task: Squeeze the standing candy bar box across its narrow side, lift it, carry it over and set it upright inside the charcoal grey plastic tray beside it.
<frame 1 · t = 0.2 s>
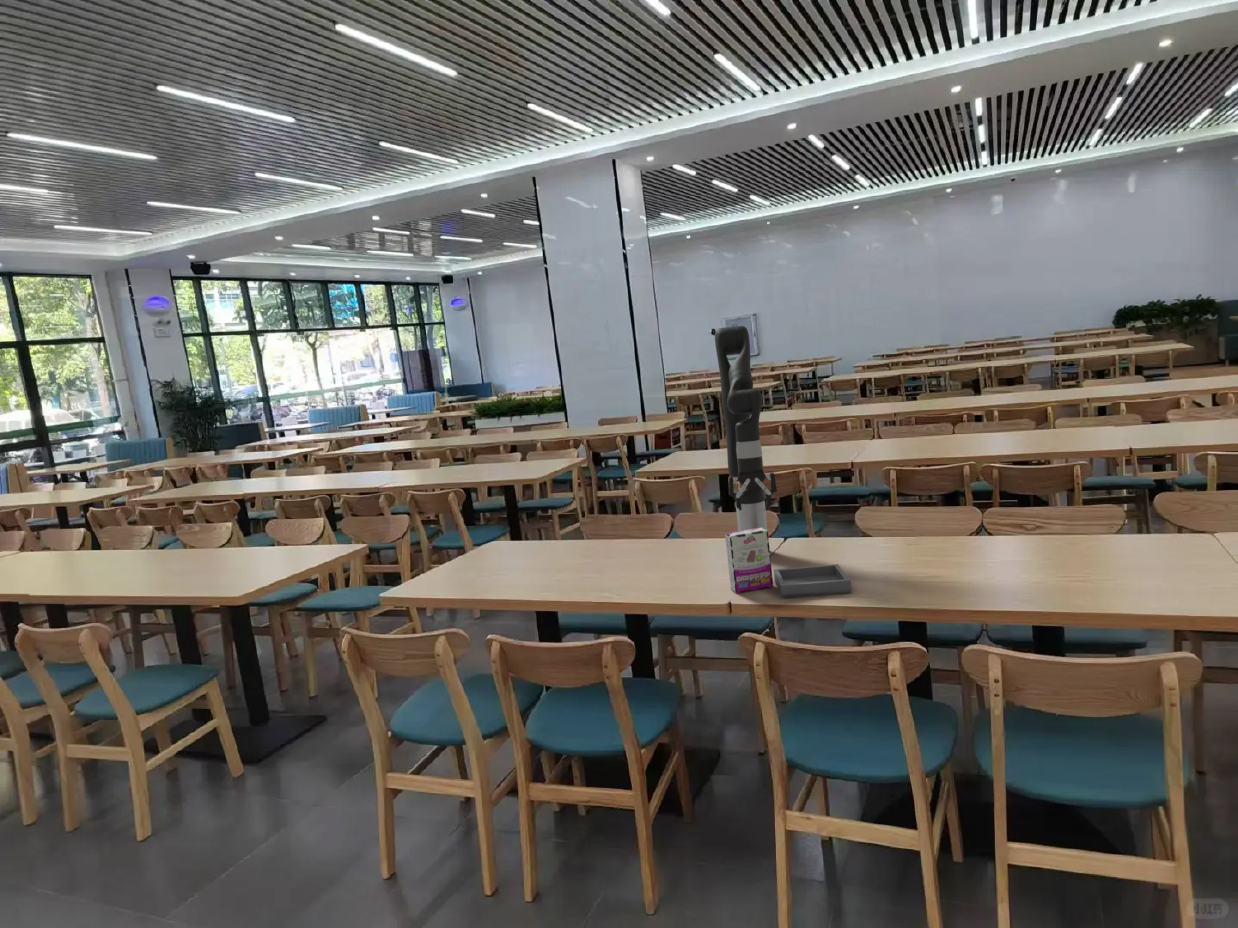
hand: (754, 508, 243), 18 cm above the table, tool pointing down, fingers open, 8 cm apart
candy bar box: (751, 589, 222), on the table
tray: (811, 587, 218), on the table
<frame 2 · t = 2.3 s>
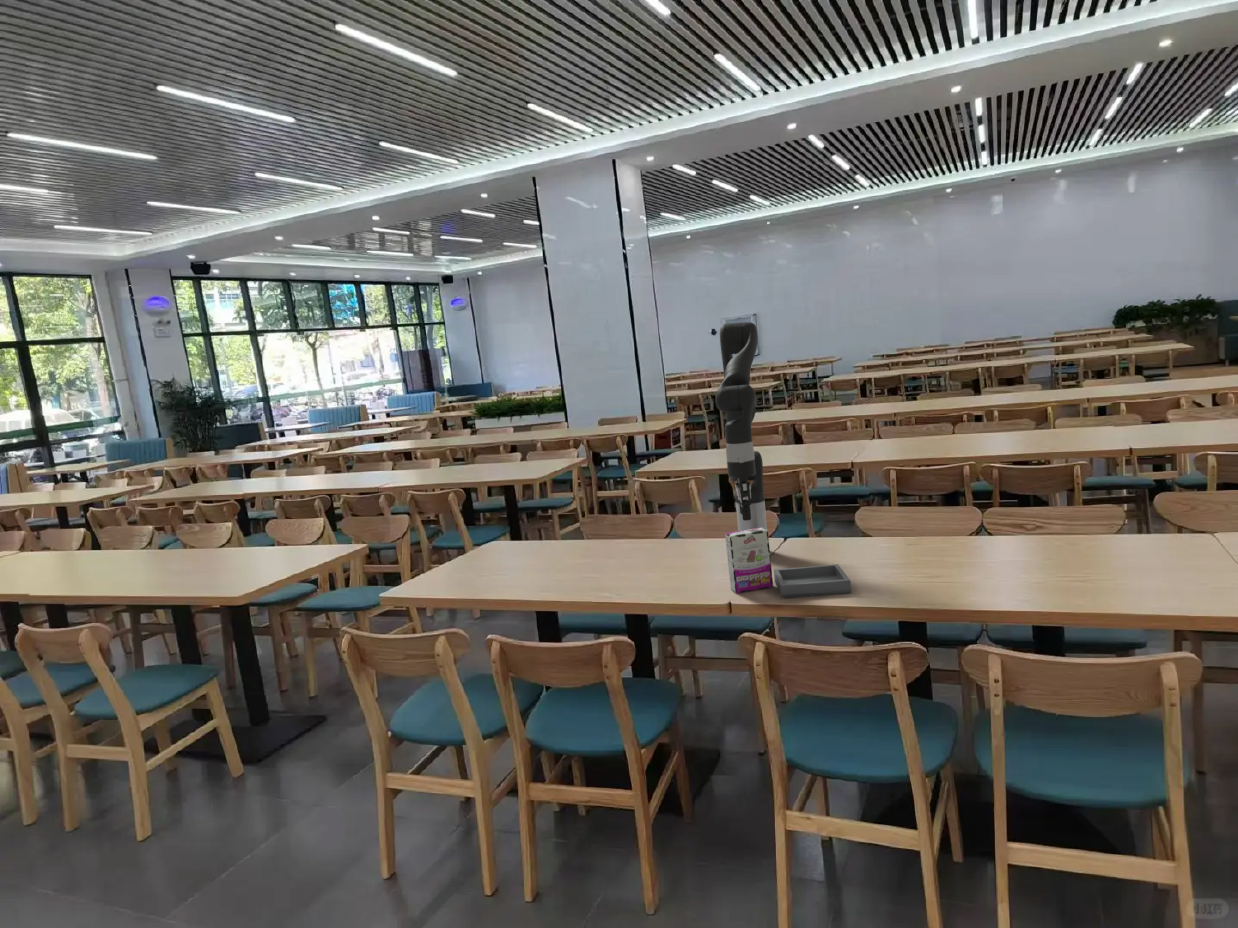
hand: (745, 517, 219), 20 cm above the table, tool pointing down, fingers open, 8 cm apart
nothing on the table moved.
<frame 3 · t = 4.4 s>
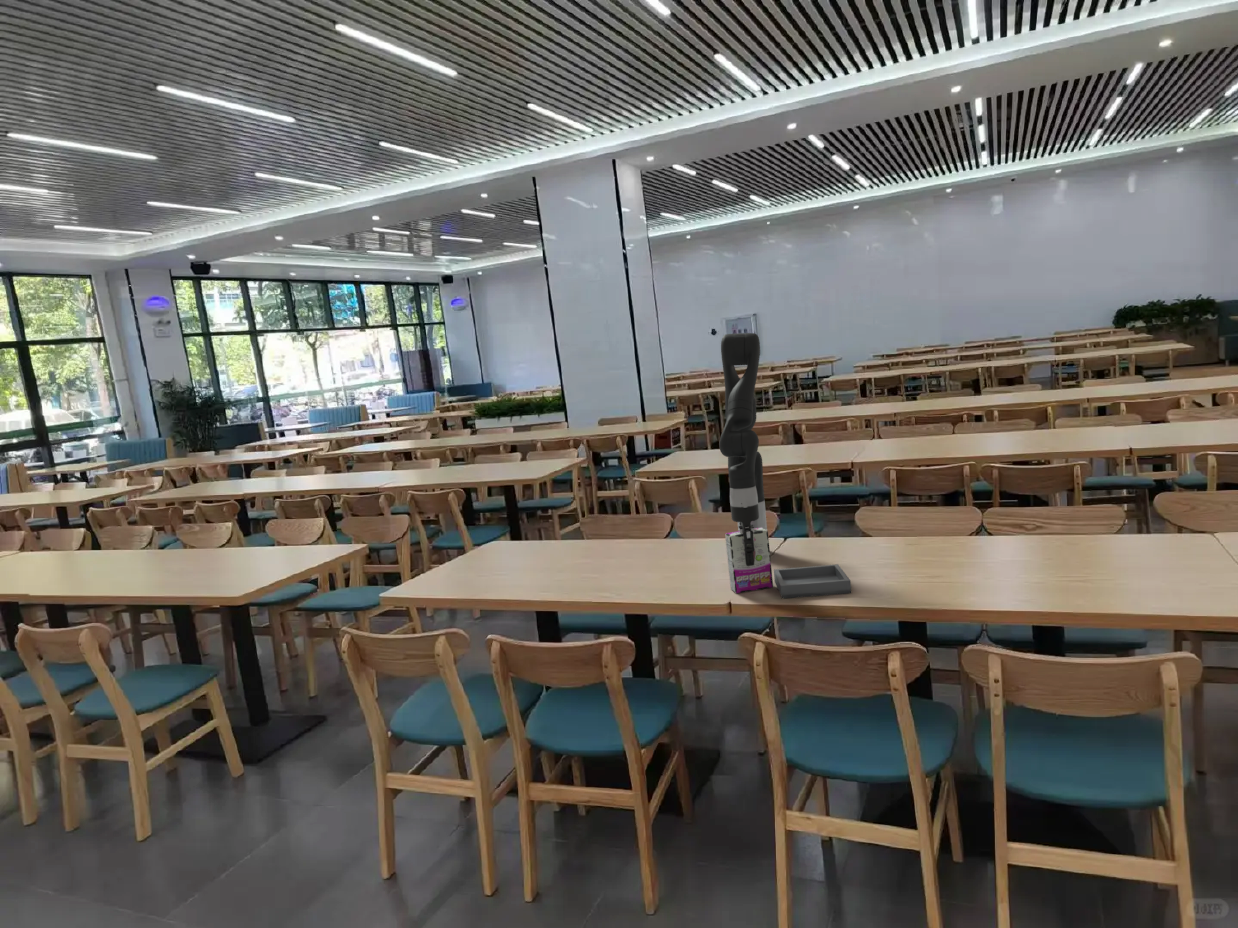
hand: (749, 562, 221), 8 cm above the table, tool pointing down, fingers closed on candy bar box, 5 cm apart
candy bar box: (751, 589, 222), on the table, touching gripper
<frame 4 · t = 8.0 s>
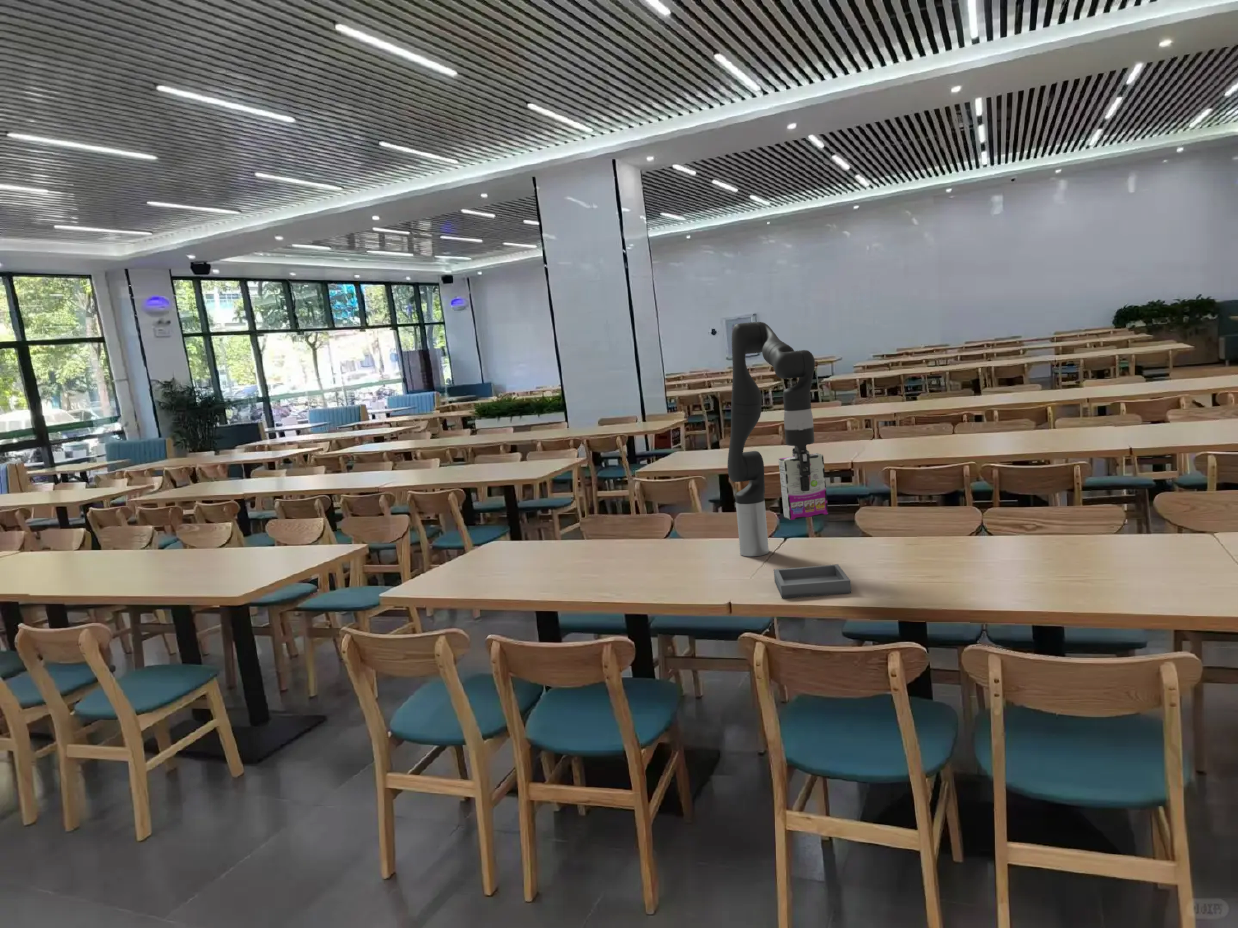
hand: (803, 488, 214), 27 cm above the table, tool pointing down, fingers closed on candy bar box, 5 cm apart
candy bar box: (805, 516, 215), point 20 cm above the table, touching gripper
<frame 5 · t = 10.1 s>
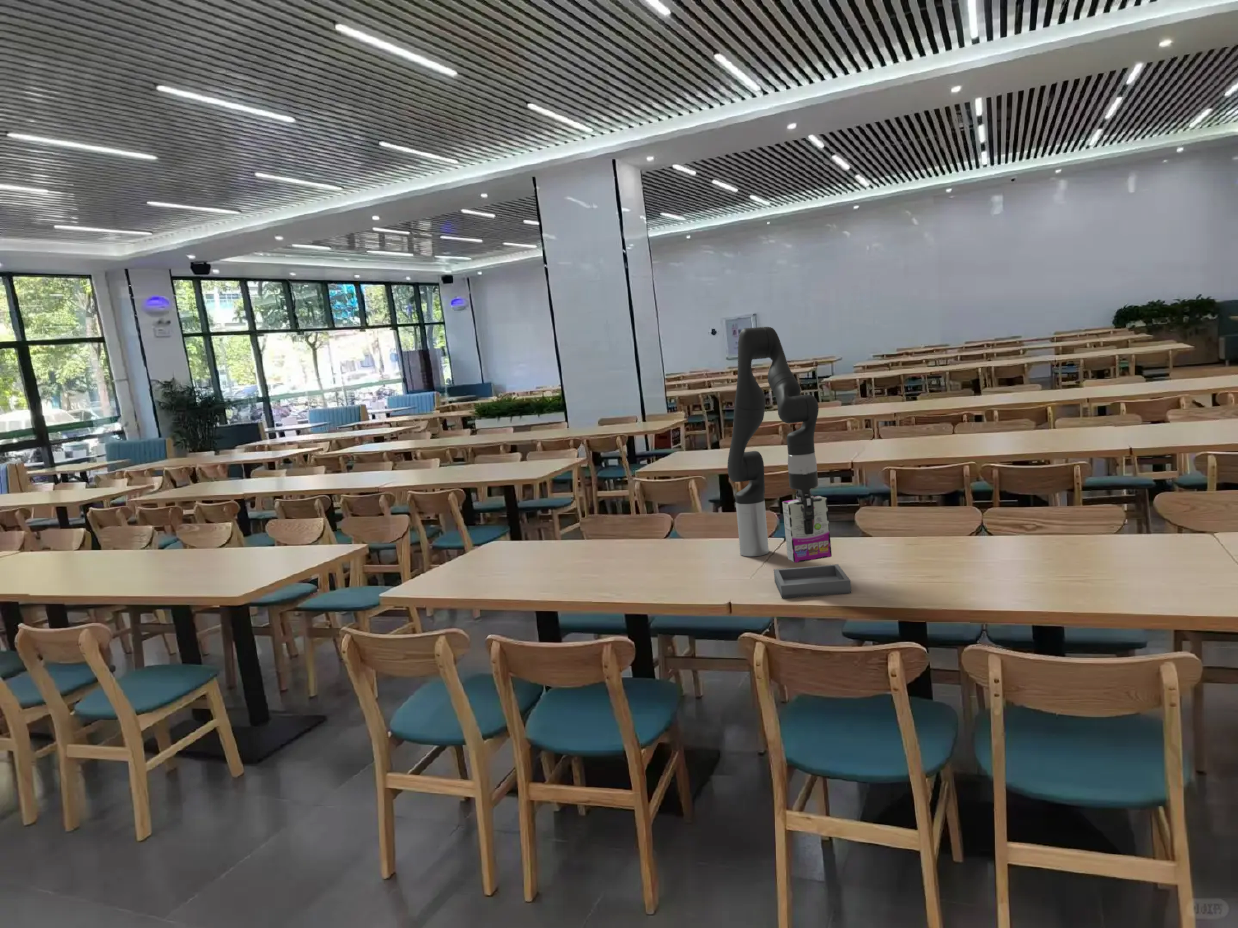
hand: (807, 531, 216), 16 cm above the table, tool pointing down, fingers closed on candy bar box, 5 cm apart
candy bar box: (809, 559, 217), point 8 cm above the table, touching gripper
when the fingers open (10 cm above the table, at t = 11.8 s): candy bar box drops 1 cm, resting on tray.
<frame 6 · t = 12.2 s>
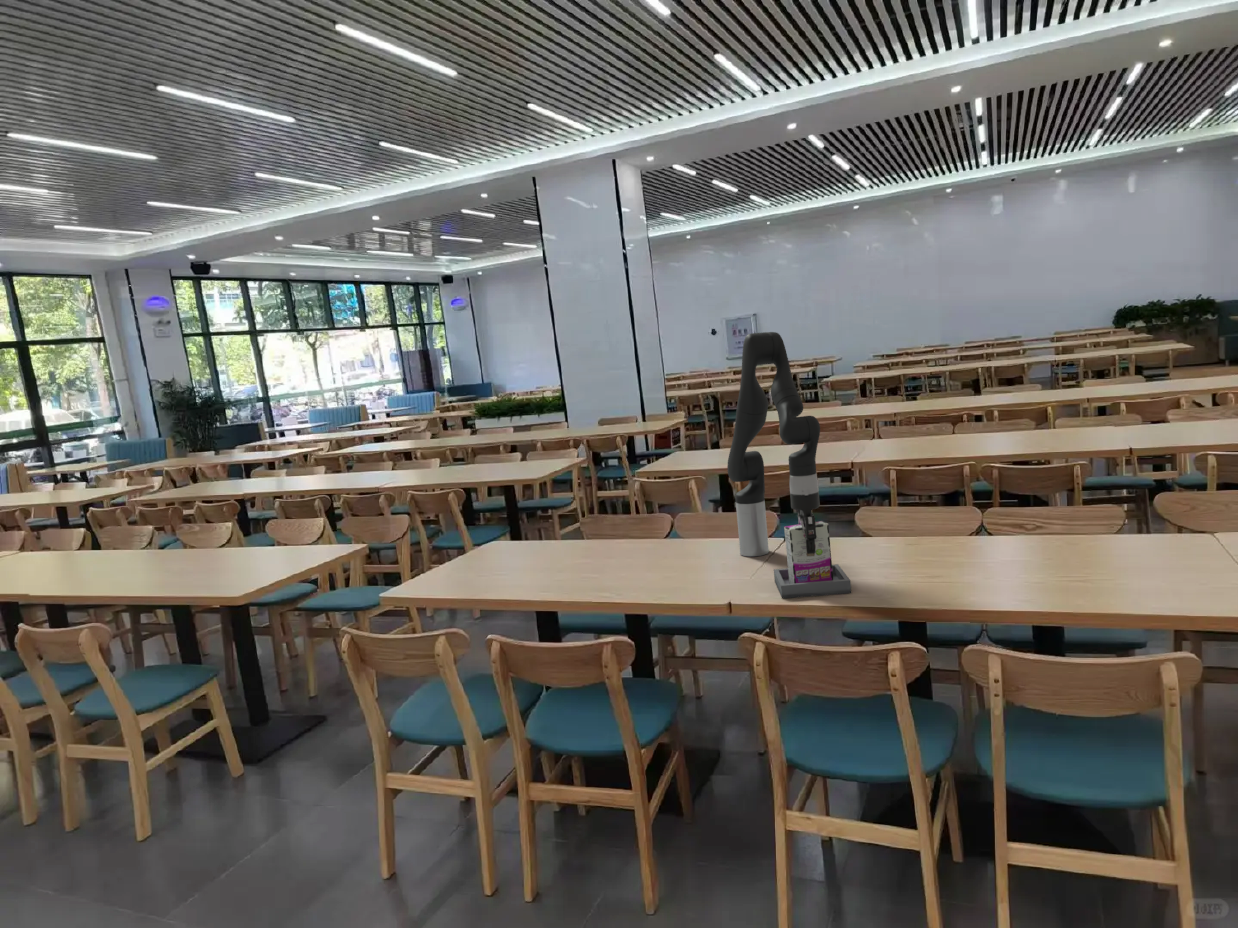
hand: (808, 549, 216), 11 cm above the table, tool pointing down, fingers open, 8 cm apart
candy bar box: (810, 583, 218), point 1 cm above the table, touching tray
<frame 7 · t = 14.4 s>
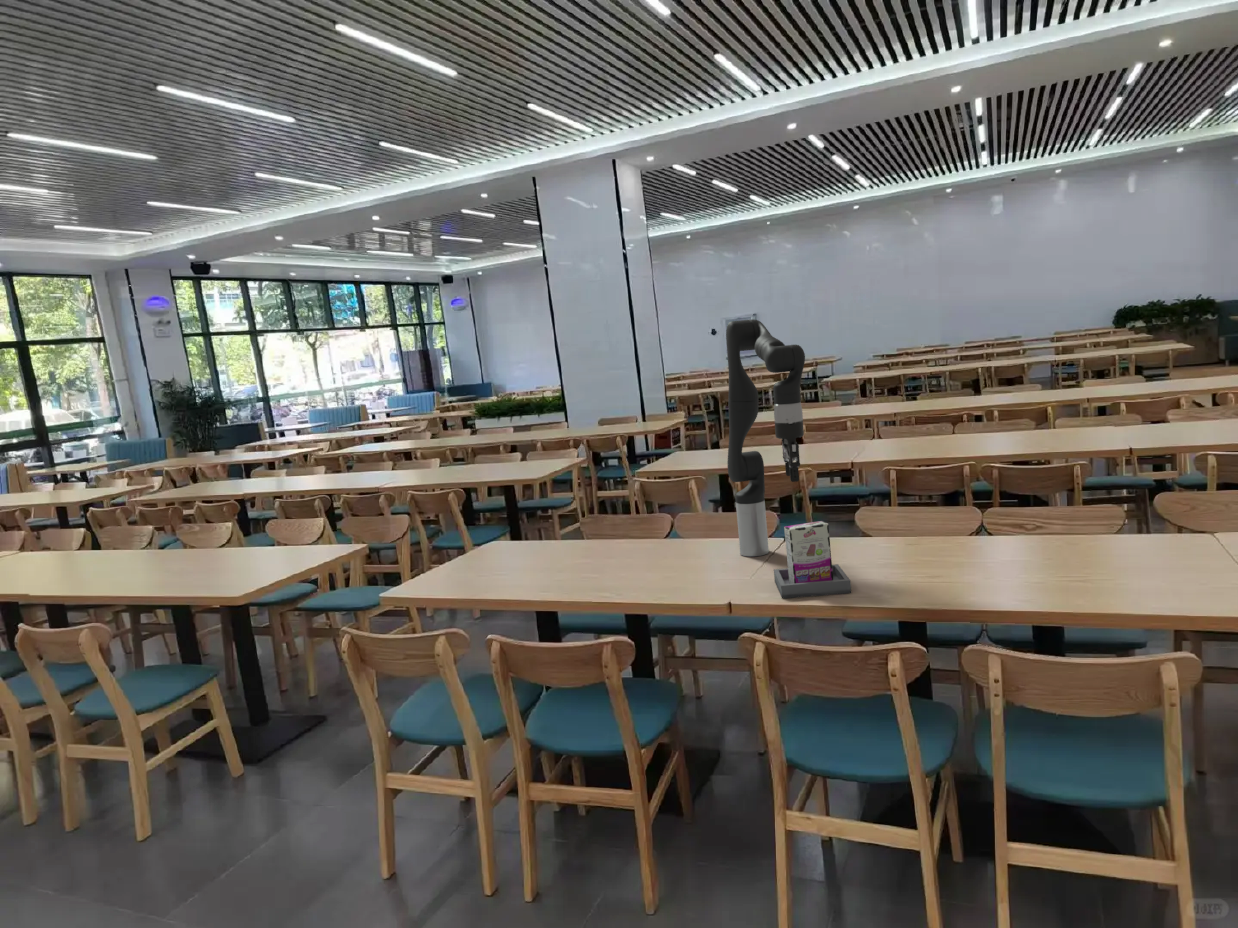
hand: (792, 478, 218), 30 cm above the table, tool pointing down, fingers open, 8 cm apart
nothing on the table moved.
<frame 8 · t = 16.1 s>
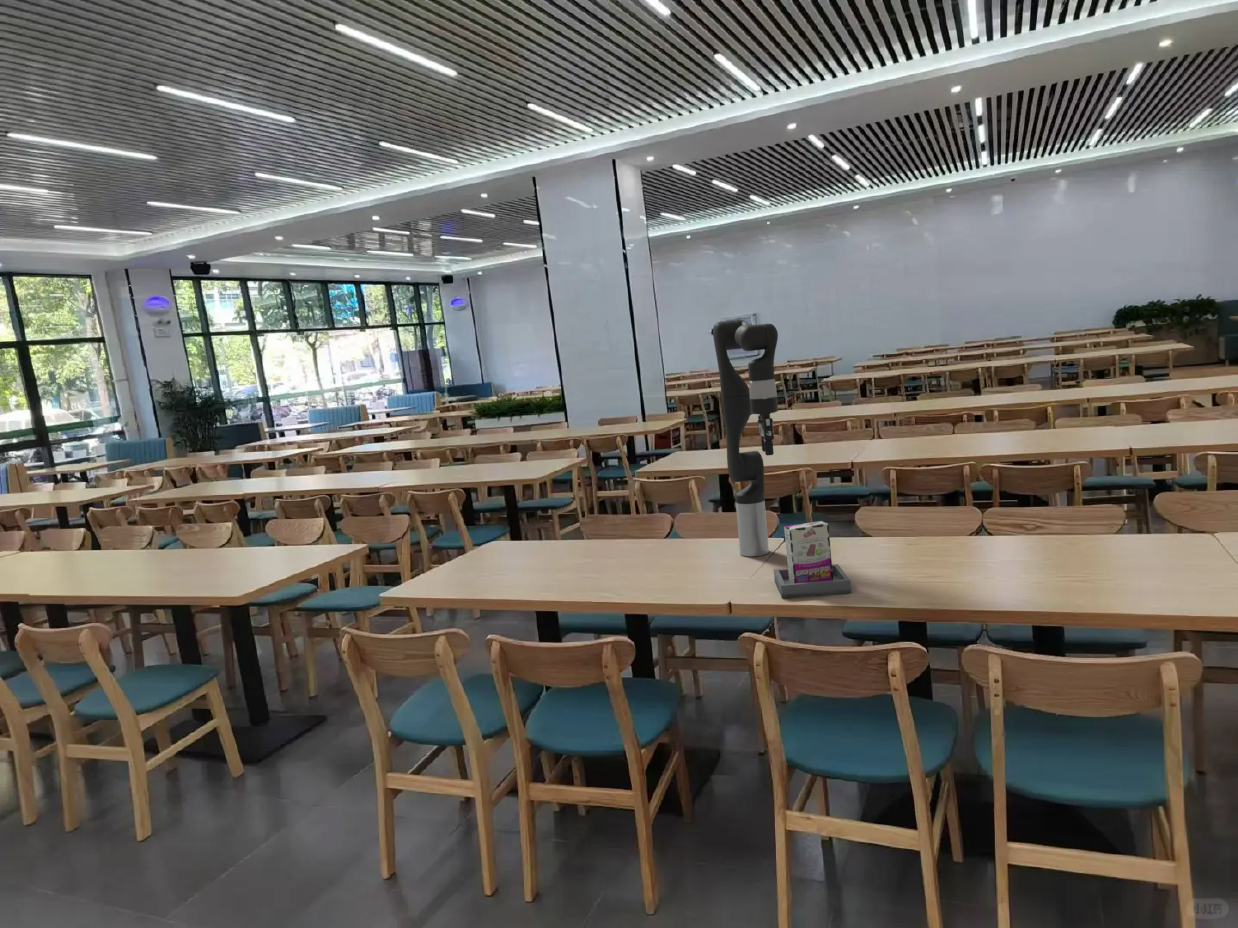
hand: (767, 453, 226), 36 cm above the table, tool pointing down, fingers open, 8 cm apart
nothing on the table moved.
at the end: candy bar box inside the target area on the tray (0.3 cm from its centre), point 0.8 cm above the tray's base; candy bar box tilted 0°; the gripper is holding nothing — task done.
